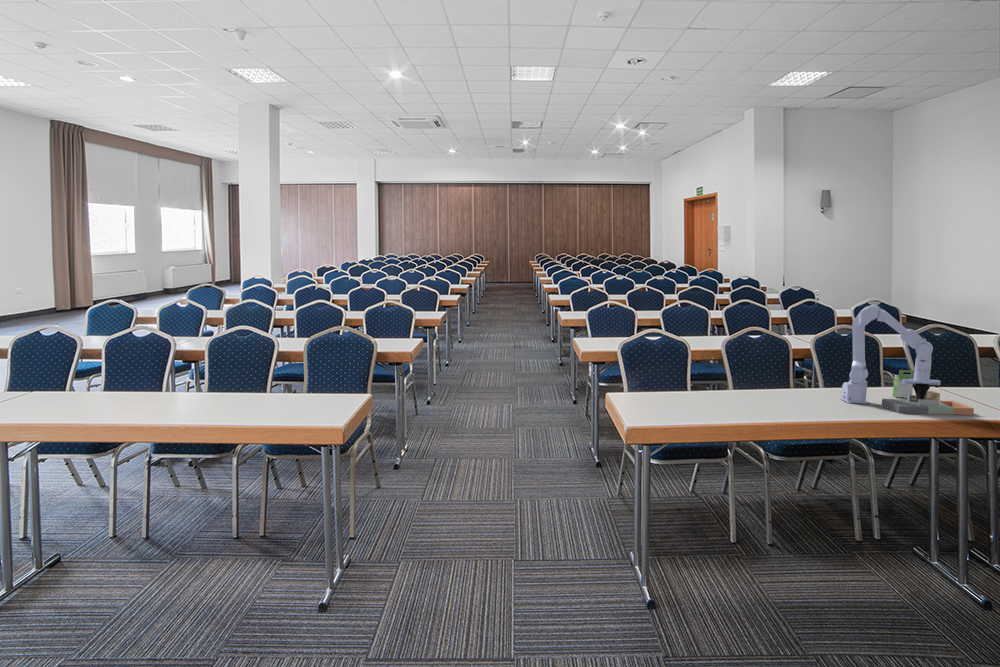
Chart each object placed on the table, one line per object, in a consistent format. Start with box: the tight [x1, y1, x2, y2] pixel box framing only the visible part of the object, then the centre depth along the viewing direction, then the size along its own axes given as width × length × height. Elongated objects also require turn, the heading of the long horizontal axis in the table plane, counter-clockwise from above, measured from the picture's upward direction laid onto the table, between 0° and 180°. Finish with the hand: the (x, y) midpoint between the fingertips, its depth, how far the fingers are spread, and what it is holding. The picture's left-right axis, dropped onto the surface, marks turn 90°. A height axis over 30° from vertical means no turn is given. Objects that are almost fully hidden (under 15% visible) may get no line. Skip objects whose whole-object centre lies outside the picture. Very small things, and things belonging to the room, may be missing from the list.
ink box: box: [892, 369, 915, 399], centre depth 304 cm, size 7×4×13 cm, turn 84°
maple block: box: [923, 390, 941, 405], centre depth 279 cm, size 5×5×5 cm
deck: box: [881, 398, 975, 416], centre depth 280 cm, size 30×14×3 cm, turn 86°
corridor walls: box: [907, 394, 939, 406], centre depth 280 cm, size 8×9×2 cm
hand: (919, 401), depth 280 cm, fingers closed
